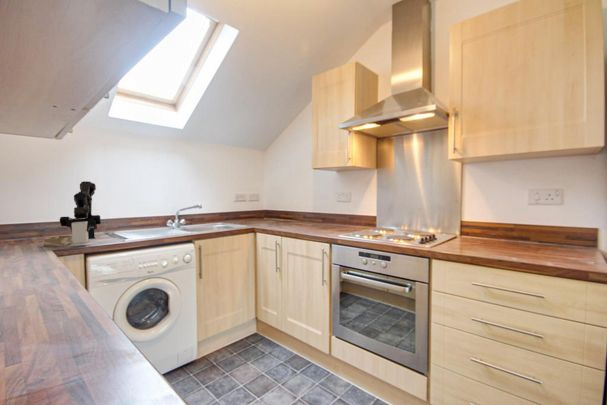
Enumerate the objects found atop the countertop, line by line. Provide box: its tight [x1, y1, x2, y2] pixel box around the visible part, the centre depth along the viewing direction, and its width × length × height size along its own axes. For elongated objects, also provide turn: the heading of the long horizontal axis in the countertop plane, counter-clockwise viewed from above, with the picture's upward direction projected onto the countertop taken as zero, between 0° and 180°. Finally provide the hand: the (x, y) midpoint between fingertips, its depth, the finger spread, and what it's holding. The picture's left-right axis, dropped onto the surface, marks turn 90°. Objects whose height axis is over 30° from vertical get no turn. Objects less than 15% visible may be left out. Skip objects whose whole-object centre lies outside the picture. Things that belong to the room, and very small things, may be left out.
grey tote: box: [71, 221, 90, 246], centre depth 166 cm, size 6×6×12 cm
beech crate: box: [42, 235, 73, 248], centre depth 171 cm, size 11×11×4 cm
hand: (79, 231), depth 165 cm, fingers closed on grey tote, 6 cm apart
